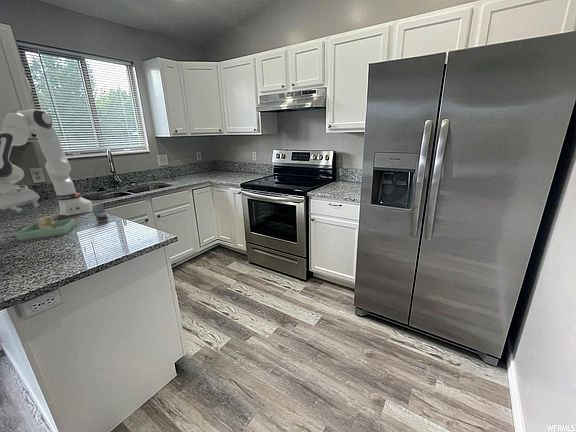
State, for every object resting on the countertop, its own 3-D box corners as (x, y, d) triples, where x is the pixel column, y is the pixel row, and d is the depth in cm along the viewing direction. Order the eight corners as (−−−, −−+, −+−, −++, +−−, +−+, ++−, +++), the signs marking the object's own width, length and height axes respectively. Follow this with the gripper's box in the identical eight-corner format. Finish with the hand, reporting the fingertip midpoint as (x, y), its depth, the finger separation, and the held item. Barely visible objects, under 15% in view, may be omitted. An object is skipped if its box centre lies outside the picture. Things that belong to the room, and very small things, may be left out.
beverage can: (102, 223, 167) (97, 205, 164) (93, 222, 169) (88, 205, 165) (110, 219, 173) (106, 202, 169) (101, 219, 175) (96, 202, 171)
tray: (77, 224, 167) (75, 218, 166) (66, 233, 151) (63, 227, 150) (34, 230, 160) (31, 224, 159) (17, 240, 144) (14, 234, 143)
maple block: (49, 228, 158) (45, 216, 155) (56, 228, 157) (52, 216, 155) (41, 232, 153) (36, 219, 151) (48, 232, 153) (43, 219, 150)
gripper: (-12, 193, 140) (11, 210, 142) (28, 184, 159) (48, 200, 161) (-15, 201, 142) (7, 218, 144) (25, 192, 161) (44, 207, 163)
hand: (29, 208), depth 153 cm, fingers open, 8 cm apart
